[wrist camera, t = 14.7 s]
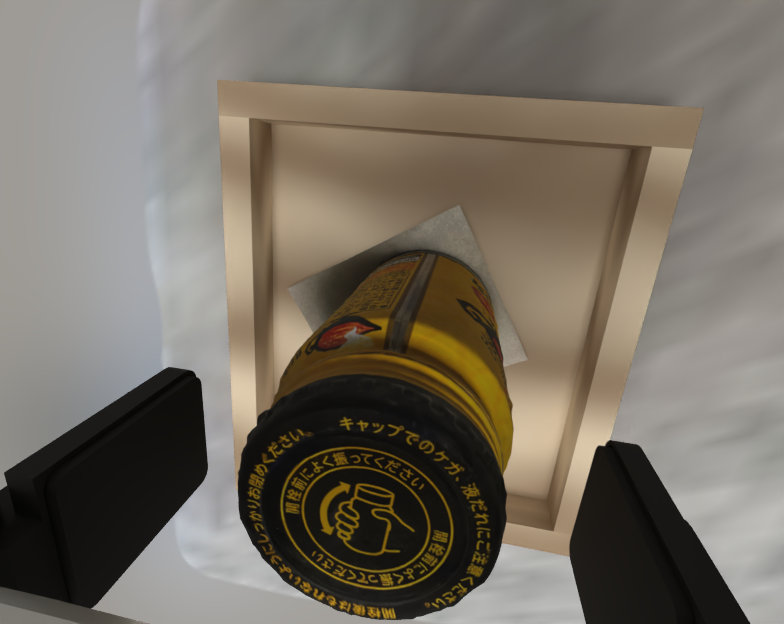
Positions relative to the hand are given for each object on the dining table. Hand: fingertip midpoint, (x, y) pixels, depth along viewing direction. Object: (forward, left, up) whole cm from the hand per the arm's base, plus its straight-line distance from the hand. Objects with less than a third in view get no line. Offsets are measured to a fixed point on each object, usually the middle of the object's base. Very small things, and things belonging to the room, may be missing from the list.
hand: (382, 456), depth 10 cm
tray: (0, 0, -10) cm, 10 cm away
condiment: (0, -1, -10) cm, 10 cm away
